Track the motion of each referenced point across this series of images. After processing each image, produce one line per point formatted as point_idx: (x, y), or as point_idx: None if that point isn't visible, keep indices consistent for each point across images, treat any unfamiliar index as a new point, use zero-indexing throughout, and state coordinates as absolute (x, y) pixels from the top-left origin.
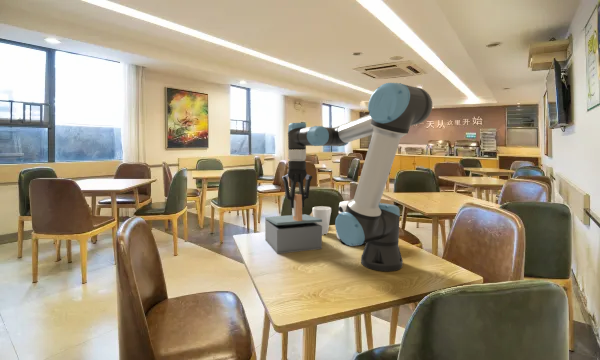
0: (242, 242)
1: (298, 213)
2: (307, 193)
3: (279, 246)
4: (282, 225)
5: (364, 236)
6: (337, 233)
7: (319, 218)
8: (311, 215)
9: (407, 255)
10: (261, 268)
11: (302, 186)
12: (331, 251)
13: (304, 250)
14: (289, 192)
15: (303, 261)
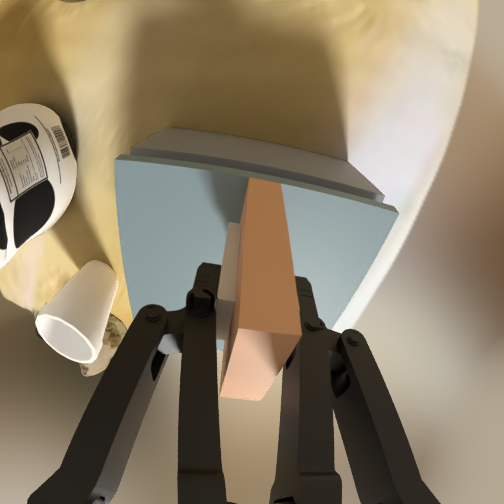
0: (362, 303)
1: (278, 207)
2: (137, 345)
3: (348, 166)
4: None
5: None
6: (69, 180)
7: (89, 303)
8: (102, 359)
9: (9, 13)
10: (443, 87)
11: (190, 441)
12: (152, 85)
13: (241, 137)
14: (359, 386)
15: (311, 43)
